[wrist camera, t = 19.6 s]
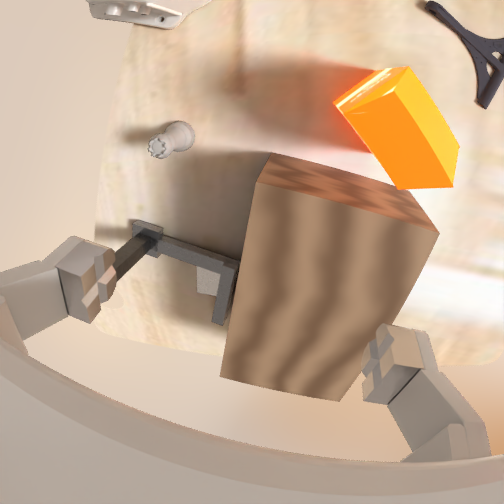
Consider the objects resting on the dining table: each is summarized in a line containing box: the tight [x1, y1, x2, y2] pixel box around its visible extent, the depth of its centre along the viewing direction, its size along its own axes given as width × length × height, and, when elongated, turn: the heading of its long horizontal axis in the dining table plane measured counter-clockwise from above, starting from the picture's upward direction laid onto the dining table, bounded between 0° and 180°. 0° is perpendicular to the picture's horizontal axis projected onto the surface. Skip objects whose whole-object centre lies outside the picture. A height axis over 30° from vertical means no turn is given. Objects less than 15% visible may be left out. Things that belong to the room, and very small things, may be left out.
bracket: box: [425, 1, 504, 109], centre depth 26 cm, size 14×15×3 cm
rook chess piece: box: [148, 121, 195, 159], centre depth 38 cm, size 4×4×8 cm
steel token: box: [197, 266, 233, 296], centre depth 53 cm, size 6×6×2 cm
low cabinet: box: [220, 153, 440, 402], centre depth 43 cm, size 20×32×13 cm, turn 170°
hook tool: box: [112, 220, 240, 326], centre depth 45 cm, size 18×14×20 cm
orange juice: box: [333, 66, 460, 190], centre depth 27 cm, size 8×9×20 cm
